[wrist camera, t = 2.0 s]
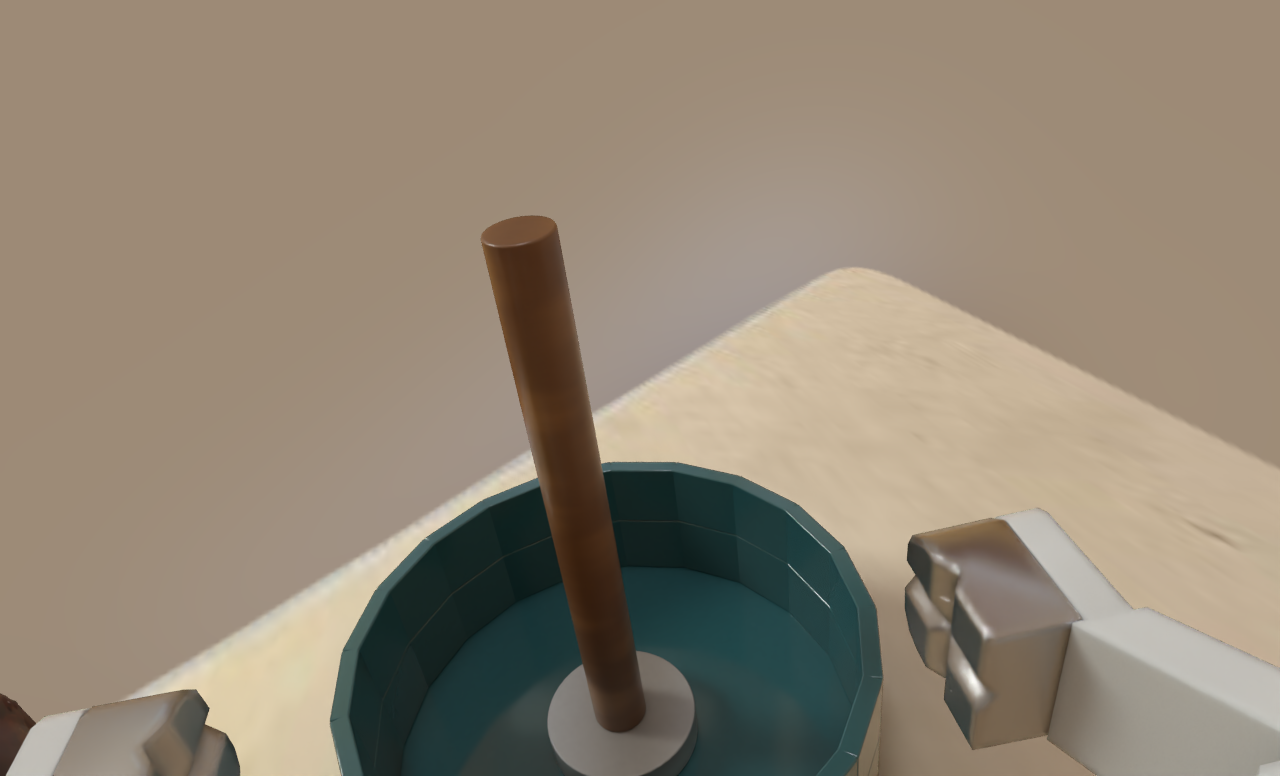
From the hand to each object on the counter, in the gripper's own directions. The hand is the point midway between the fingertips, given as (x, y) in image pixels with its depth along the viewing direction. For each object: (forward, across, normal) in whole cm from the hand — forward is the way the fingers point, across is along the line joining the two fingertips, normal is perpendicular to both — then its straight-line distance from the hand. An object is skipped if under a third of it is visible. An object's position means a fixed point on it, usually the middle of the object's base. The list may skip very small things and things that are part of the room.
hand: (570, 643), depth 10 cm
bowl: (+12, 0, +20) cm, 23 cm away
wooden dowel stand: (+12, 0, +19) cm, 22 cm away
